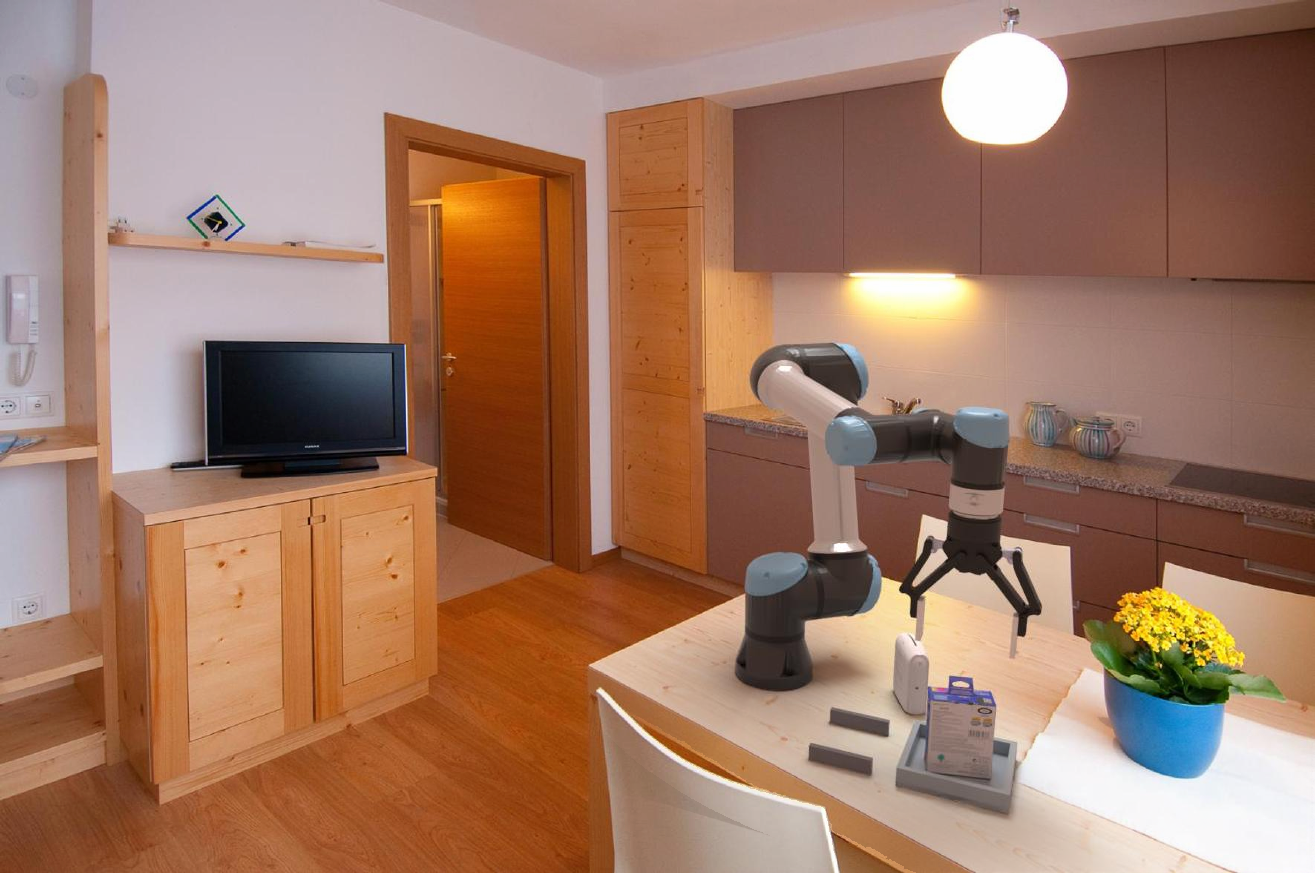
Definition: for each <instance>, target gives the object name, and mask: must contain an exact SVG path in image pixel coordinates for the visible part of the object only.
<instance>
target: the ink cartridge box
mask: <svg viewBox="0 0 1315 873" xmlns="http://www.w3.org/2000/svg"><path fill="white" fill-rule="evenodd" d="M957 682H963V683H966V684H968V686H966V687H965V686H956V685H953V683H957ZM994 698H995V697H994V695H993V693H992V691H991V690H982V689H974V680H973V677H969V676H968V677H967V676H956V675H949V676H948V687H939V686H931V685H928V690H927V704H926V721H925V722H926V740H925V754H924V762H925V769H926V771H927V772H931V773H941V774H950V775H959V776H968V777H977V778H986V779H991V772H992V758H993V743H994V737H995V729H996V728H995V727H996V716H997V715H996V714H997V704H996V701H995V699H994Z"/></svg>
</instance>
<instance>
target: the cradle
mask: <svg viewBox="0 0 1315 873" xmlns="http://www.w3.org/2000/svg"><path fill="white" fill-rule="evenodd" d="M890 722H891V720H890V719H887V718H882V717H877V716H874V715H868V714H865V713H859V712H856V711H852V710H848V709H842V708H838V707H834V706H831V708H830V711H829V724H833V725H838V726H842V727H847V728H850V729H856V730H860V731H863V732H869V733H871V734H877V735H882V736H886V737H888V736H889V735H890ZM807 759H808V761H811V762H816V763H819V764H823V765H827V766H830V767H835V768H838V769H842V770H843V769H844V770H847V771H852V772H856V773H860V774H863V775H868V776H872V774H873V763H874V758H873V757H871V756H867V755H864V754H860V753H859V754H858V753H855V752H852V751H851V752H850V751H846V750H842V749H838V748H834V747H831V746H826V745H821V744H818V743H813V742H809V745H808V757H807Z"/></svg>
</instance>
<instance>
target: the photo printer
mask: <svg viewBox="0 0 1315 873" xmlns="http://www.w3.org/2000/svg"><path fill="white" fill-rule="evenodd" d="M915 635H916V634H913V633H910V632H901V633H899V634H898V635H897V636H896V639H895V644H894V661H893V662H894V663H893V677H892V680H893V681H892V688H893V693H894V694H895V696H896V699H897V700H898V701H899V704H900V705H901V707H902V709H903V710H904V712H905V713H908V714H909V715H914V716H915V715H916V716H917V715H923V714H924V713H926V712H927V696H928V686H929V674H930V659H929V655H928V652H927V650H926V648H925V647H924V644H923V643H922V641H921V640H920V641H916V640H915Z"/></svg>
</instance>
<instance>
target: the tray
mask: <svg viewBox="0 0 1315 873" xmlns="http://www.w3.org/2000/svg"><path fill="white" fill-rule="evenodd" d="M925 740H926V721H923V720H917V719H914V722H913V724H912V727H911V730H910V732H909V735H908V737H907V739H906V743H905V745H904V747H903V750H902V752H901V755H900V758H899V760H898V763H897V765H896V771H895V786H896V787H900V788H903V787H904V789H907V790H911V789H912V791H915V792H920V793H923V792H924V793H923V794H927V795H932V796H936V797H940V798H944V799H948V800H950V801H951V800H952V801H954V800H956V801H955V802H958V801H959V803H963V804H966V803H967V804H966V805H970V806H975V807H979V808H983V809H986V810H990V809H991V811H994V810H995V811H994V812H997V813H1002V812H1004V813H1003V814H1006V813H1008V814H1009V811H1010V803H1011V797H1012V789H1013V783H1014V776H1015V769H1016V768H1015V767H1016V762H1017V752H1018V741H1013V740H1009V739H1004V738H1000V737H996V736H994V743H993V758H992V772H991V779H986V778H977V777H968V776H959V775H950V774H941V773H931V772H927V771H926V769H925V762H924V754H925Z"/></svg>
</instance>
